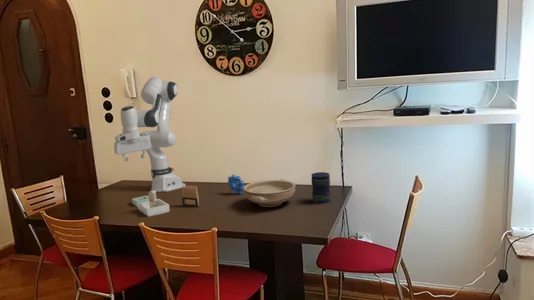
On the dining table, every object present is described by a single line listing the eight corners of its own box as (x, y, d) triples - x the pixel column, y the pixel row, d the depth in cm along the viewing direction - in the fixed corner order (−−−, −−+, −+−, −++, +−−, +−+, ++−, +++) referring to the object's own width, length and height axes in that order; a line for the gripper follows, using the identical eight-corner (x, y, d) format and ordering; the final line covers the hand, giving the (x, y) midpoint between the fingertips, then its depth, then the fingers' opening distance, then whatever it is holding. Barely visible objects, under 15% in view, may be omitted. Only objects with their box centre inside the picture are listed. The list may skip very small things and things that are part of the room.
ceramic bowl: (261, 193, 251) (260, 176, 249) (306, 195, 239) (305, 178, 238) (231, 212, 218) (229, 193, 216) (281, 216, 206) (280, 196, 204)
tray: (159, 205, 239) (158, 198, 238) (169, 211, 226) (169, 204, 225) (138, 210, 233) (137, 203, 232) (148, 216, 219) (147, 209, 219)
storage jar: (333, 199, 229) (332, 172, 226) (327, 204, 220) (326, 176, 218) (315, 198, 233) (314, 171, 231) (310, 203, 224) (308, 176, 222)
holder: (147, 200, 252) (147, 195, 251) (152, 203, 245) (151, 198, 244) (132, 203, 247) (132, 198, 247) (137, 206, 240) (136, 201, 239)
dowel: (156, 207, 232) (154, 190, 230) (158, 209, 229) (156, 191, 227) (149, 209, 230) (146, 191, 228) (151, 210, 226) (149, 192, 225)
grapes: (224, 195, 251) (223, 175, 249) (230, 192, 257) (228, 173, 255) (241, 196, 246) (240, 176, 244) (247, 193, 252) (245, 174, 250)
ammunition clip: (200, 206, 232) (198, 185, 230) (198, 207, 231) (196, 186, 229) (184, 204, 237) (182, 184, 235) (182, 205, 235) (180, 185, 233)
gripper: (147, 132, 243) (150, 155, 246) (111, 137, 232) (115, 162, 235) (151, 133, 238) (154, 156, 241) (114, 138, 227) (118, 163, 230)
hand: (134, 159), depth 238 cm, fingers open, 8 cm apart
